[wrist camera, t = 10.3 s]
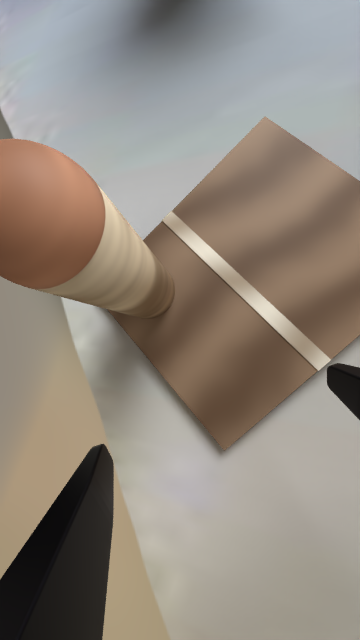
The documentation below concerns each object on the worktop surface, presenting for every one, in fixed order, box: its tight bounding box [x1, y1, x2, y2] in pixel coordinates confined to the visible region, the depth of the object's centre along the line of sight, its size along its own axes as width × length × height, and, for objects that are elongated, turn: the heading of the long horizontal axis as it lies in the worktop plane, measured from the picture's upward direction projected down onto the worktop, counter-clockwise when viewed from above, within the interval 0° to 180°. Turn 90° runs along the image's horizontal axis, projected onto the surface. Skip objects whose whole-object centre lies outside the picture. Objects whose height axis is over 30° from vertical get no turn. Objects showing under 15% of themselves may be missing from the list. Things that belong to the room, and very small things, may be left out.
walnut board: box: [107, 117, 360, 451], centre depth 17 cm, size 18×22×1 cm
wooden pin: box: [0, 139, 175, 319], centre depth 12 cm, size 5×5×14 cm
